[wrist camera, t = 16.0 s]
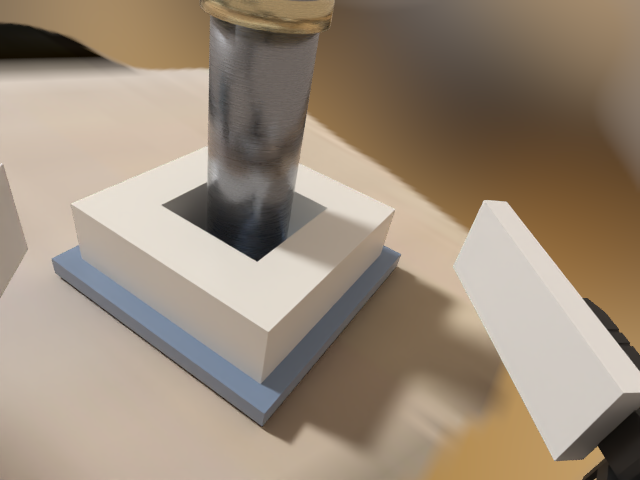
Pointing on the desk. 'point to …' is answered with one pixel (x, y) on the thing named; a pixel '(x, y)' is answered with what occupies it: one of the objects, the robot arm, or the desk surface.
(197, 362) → the socket block
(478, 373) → the desk surface
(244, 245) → the grey metal peg
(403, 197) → the desk surface
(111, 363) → the desk surface
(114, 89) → the desk surface
